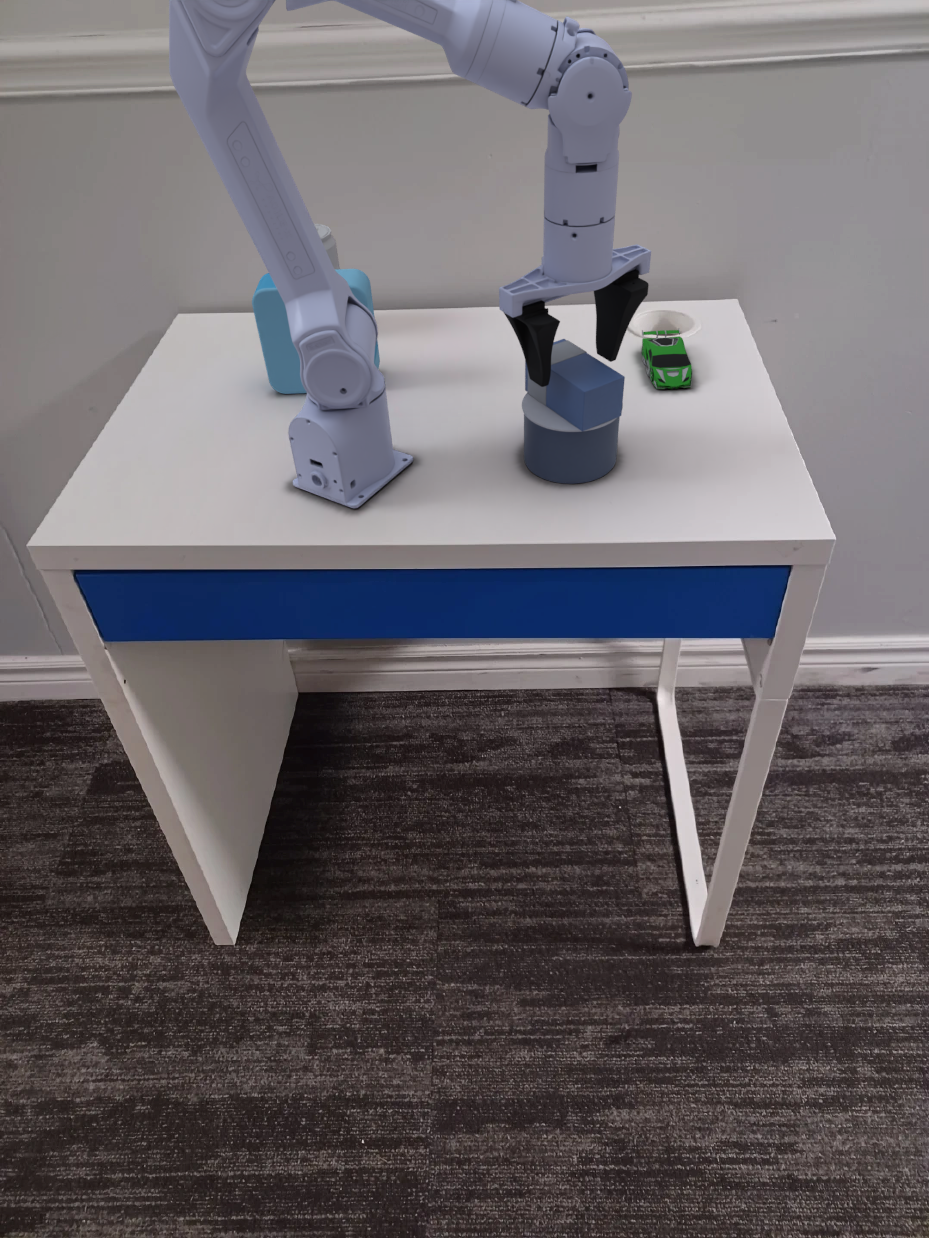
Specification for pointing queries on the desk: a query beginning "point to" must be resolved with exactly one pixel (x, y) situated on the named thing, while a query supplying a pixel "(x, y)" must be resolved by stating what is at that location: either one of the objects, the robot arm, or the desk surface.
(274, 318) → the data package
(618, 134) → the robot arm
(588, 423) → the block
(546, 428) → the yogurt tub
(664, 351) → the toy car
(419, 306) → the desk surface
